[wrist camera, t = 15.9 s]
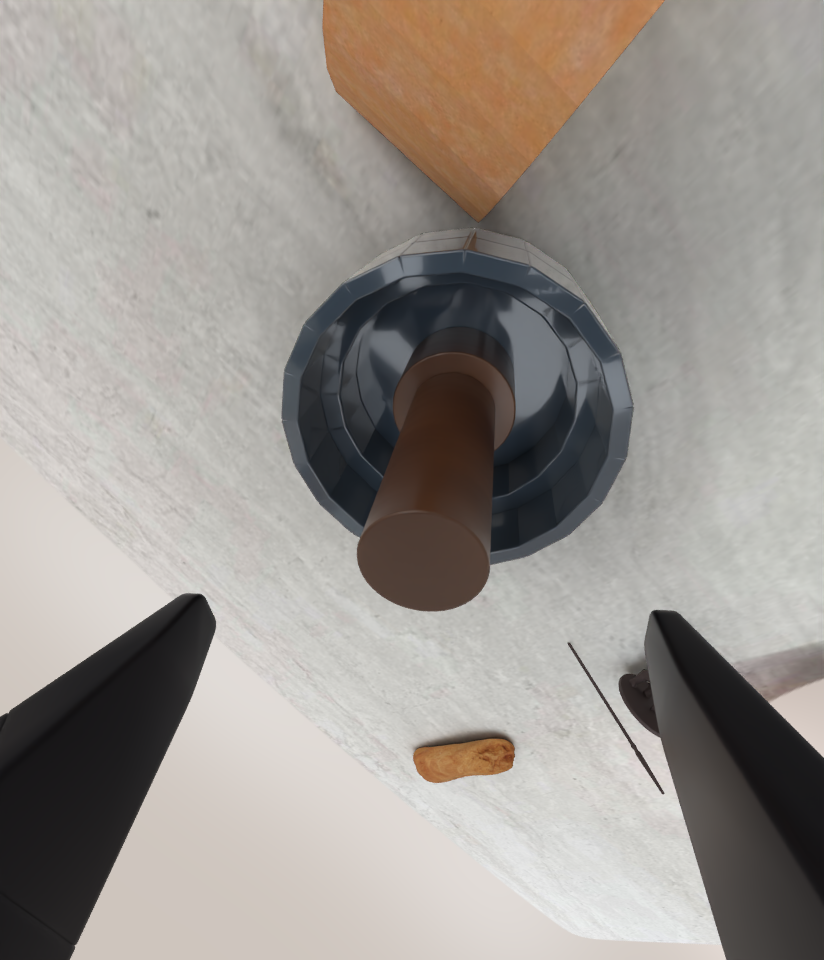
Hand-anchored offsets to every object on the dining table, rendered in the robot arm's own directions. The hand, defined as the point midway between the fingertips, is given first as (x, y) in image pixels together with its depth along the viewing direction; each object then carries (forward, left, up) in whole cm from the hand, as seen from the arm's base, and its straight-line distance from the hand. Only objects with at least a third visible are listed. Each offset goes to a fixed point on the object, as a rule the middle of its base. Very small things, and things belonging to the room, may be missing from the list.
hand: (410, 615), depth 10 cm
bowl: (0, 0, -13) cm, 13 cm away
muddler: (0, 0, -12) cm, 12 cm away
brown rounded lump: (+2, +26, -12) cm, 29 cm away
